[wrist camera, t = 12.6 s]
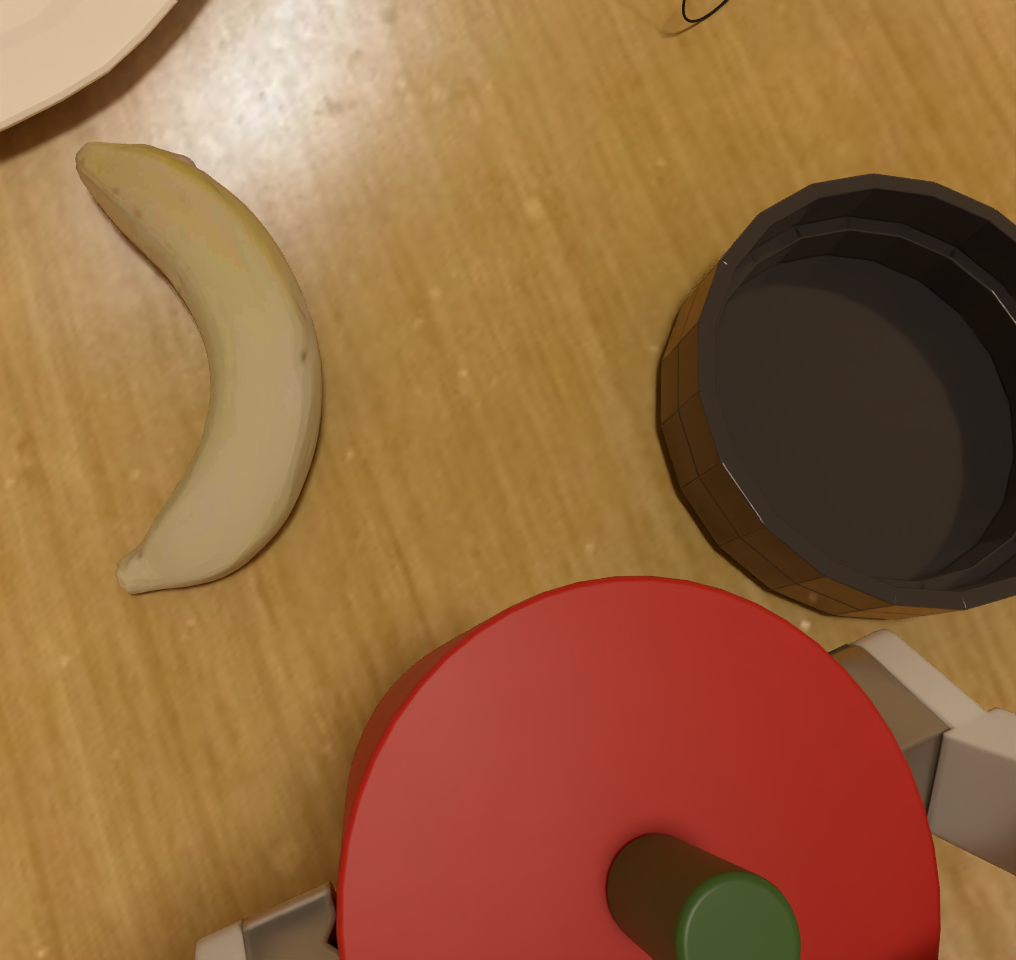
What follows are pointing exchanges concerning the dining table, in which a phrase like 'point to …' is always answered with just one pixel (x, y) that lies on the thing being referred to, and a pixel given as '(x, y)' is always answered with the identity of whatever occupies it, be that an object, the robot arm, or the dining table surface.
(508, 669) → the pepper
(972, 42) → the dining table surface
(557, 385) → the dining table surface
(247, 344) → the fruit
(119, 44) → the plate
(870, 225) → the pan
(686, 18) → the eyeglasses
